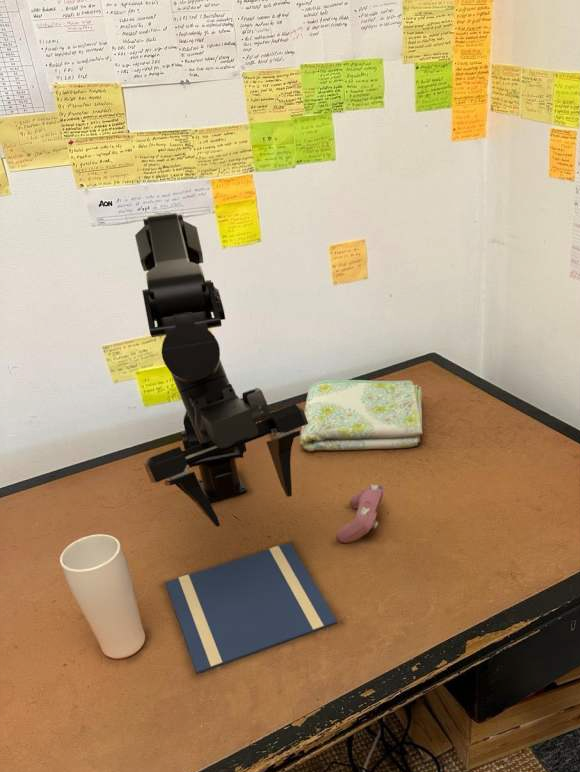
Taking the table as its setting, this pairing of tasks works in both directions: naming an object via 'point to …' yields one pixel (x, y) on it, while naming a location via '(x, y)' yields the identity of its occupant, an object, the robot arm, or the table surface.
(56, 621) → the table surface
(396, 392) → the towel
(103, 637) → the white tapered cup
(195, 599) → the cloth
